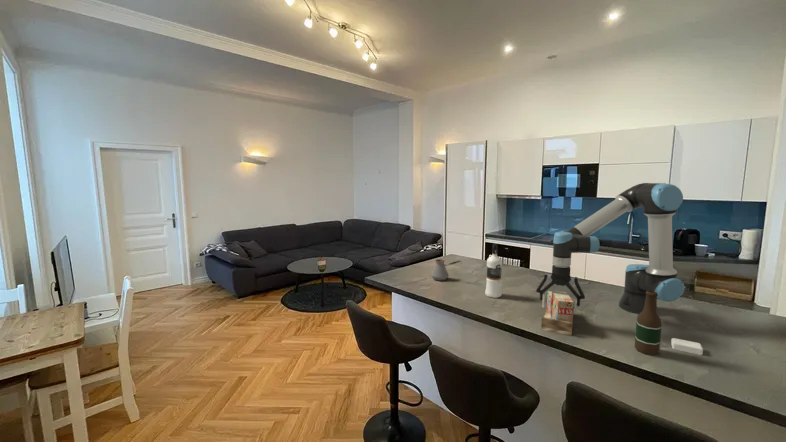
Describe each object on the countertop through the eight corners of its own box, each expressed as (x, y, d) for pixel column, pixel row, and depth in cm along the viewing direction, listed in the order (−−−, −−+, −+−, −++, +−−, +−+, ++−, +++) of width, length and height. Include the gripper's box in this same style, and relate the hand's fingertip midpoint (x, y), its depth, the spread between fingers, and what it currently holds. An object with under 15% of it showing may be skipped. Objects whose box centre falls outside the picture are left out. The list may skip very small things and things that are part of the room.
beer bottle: (648, 345, 136) (653, 288, 133) (664, 355, 128) (670, 295, 125) (629, 346, 135) (634, 288, 132) (644, 356, 128) (650, 295, 125)
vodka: (497, 292, 199) (499, 242, 195) (504, 297, 190) (506, 245, 186) (482, 293, 198) (483, 243, 194) (489, 298, 189) (490, 246, 185)
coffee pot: (428, 279, 225) (428, 257, 223) (436, 275, 234) (436, 254, 232) (456, 285, 212) (457, 262, 210) (465, 281, 221) (465, 258, 219)
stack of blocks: (546, 308, 170) (547, 285, 168) (559, 309, 168) (561, 285, 167) (556, 327, 149) (558, 300, 148) (572, 328, 148) (573, 301, 146)
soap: (672, 349, 133) (673, 342, 133) (670, 343, 137) (671, 337, 137) (702, 356, 128) (703, 348, 128) (700, 350, 132) (700, 342, 132)
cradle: (573, 314, 167) (574, 303, 166) (571, 335, 145) (572, 323, 144) (546, 309, 173) (547, 299, 172) (541, 329, 150) (541, 318, 150)
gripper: (531, 264, 158) (529, 307, 161) (592, 271, 146) (589, 317, 149) (533, 260, 164) (531, 302, 167) (592, 266, 152) (589, 311, 155)
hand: (559, 309), depth 158 cm, fingers open, 13 cm apart
